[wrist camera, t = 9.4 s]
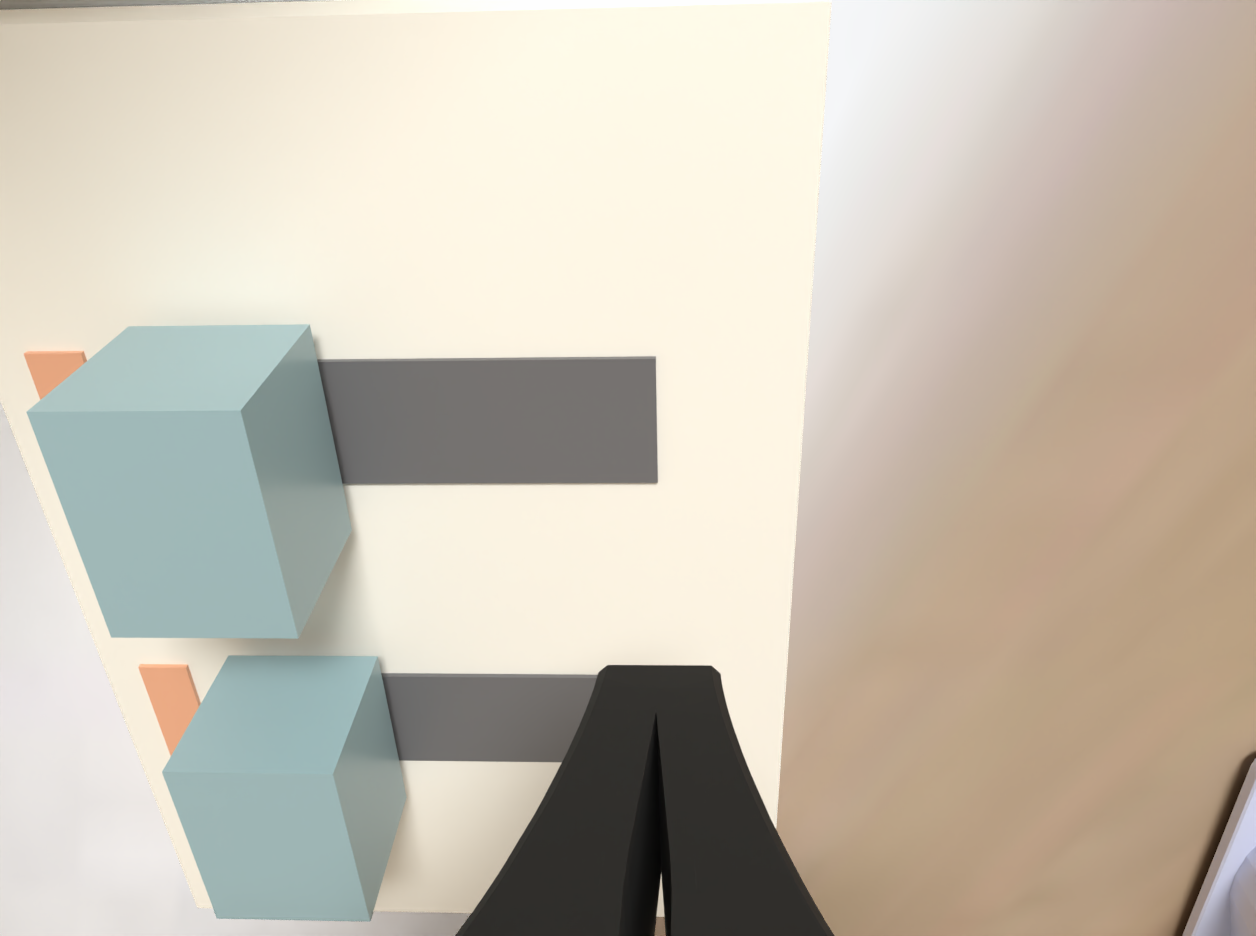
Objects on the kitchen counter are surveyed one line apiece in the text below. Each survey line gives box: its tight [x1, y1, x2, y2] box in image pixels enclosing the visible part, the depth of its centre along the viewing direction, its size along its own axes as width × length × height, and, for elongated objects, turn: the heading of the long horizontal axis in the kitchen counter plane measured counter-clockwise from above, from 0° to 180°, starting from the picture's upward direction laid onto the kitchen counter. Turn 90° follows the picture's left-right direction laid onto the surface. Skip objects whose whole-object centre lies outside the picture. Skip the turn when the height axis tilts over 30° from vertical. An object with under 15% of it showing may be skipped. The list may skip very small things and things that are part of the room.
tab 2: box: [162, 655, 407, 921], centre depth 20 cm, size 4×3×3 cm
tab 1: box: [27, 324, 352, 639], centre depth 16 cm, size 4×3×3 cm
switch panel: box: [0, 0, 831, 917], centre depth 20 cm, size 20×14×2 cm
